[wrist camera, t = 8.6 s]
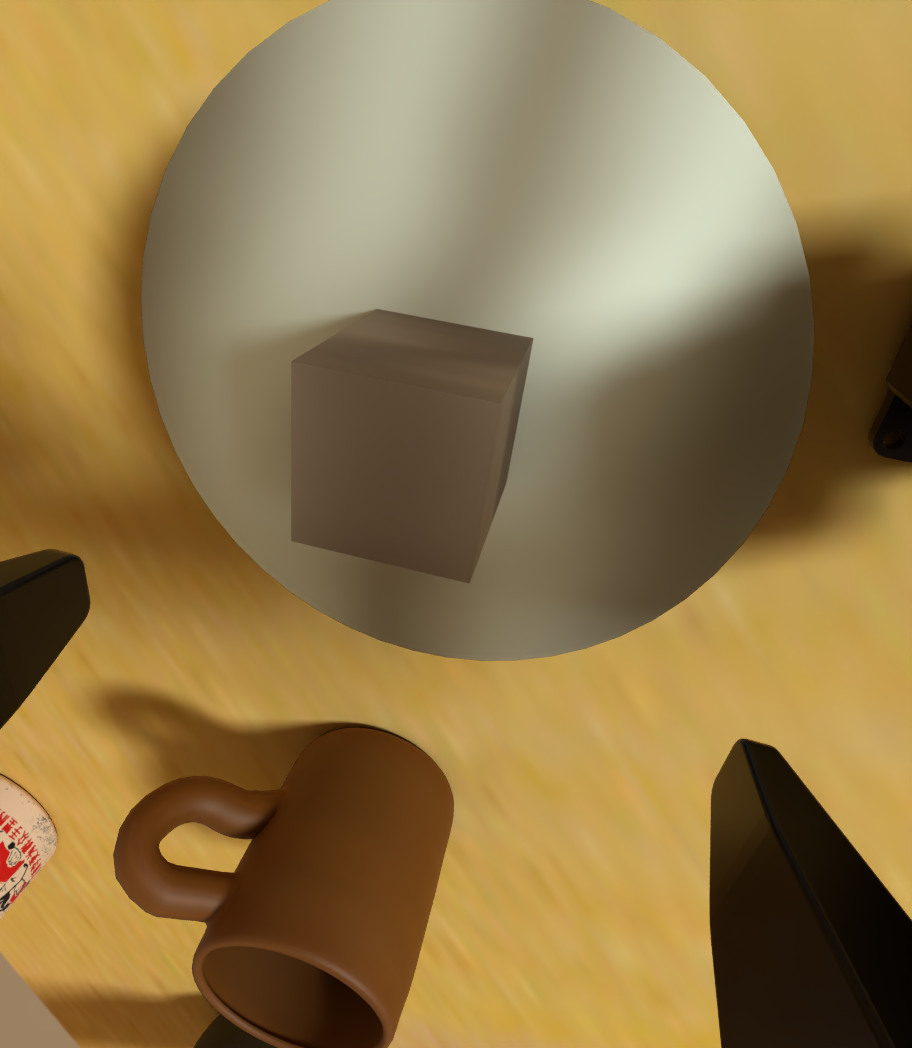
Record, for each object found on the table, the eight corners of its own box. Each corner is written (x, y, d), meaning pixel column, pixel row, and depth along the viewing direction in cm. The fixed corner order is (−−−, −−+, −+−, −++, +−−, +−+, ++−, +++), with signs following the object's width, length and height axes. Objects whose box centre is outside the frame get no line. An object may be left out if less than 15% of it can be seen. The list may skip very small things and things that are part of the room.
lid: (952, 39, 10) (1175, -42, 6) (678, 696, 17) (695, 865, 13) (126, -58, 12) (-138, -174, 8) (188, 573, 19) (68, 688, 15)
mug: (197, 720, 31) (48, 917, 23) (267, 631, 27) (117, 830, 19) (399, 857, 33) (326, 1085, 25) (492, 790, 29) (441, 1035, 21)
